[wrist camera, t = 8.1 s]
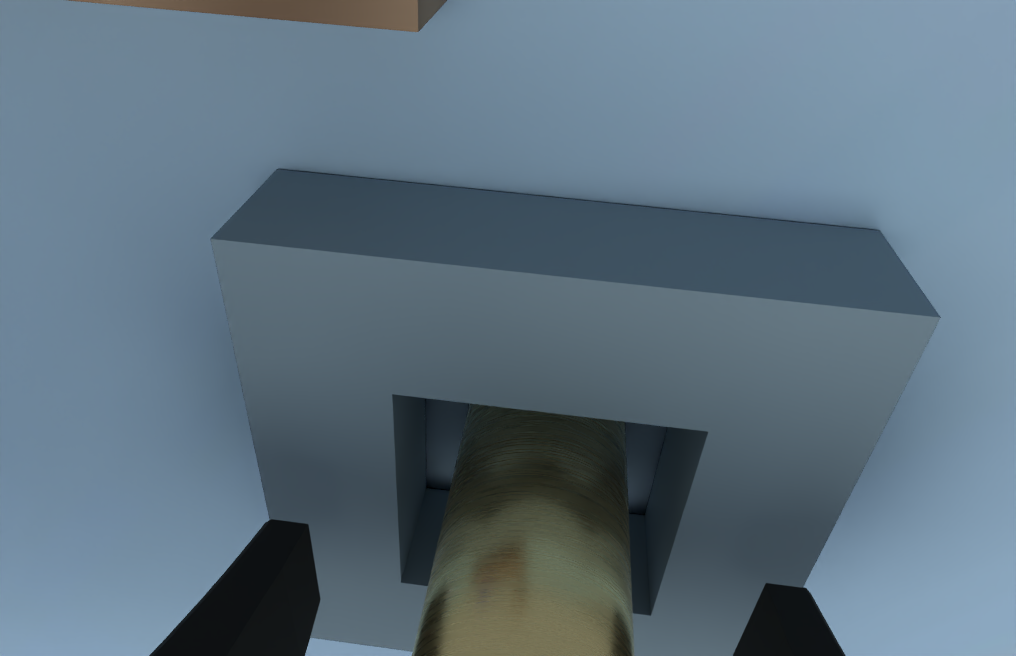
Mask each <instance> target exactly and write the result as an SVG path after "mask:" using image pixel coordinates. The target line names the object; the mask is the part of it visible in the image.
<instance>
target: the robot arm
mask: <svg viewBox="0 0 1016 656" xmlns="http://www.w3.org/2000/svg"><path fill="white" fill-rule="evenodd" d="M320 600H321V599H320V593H319V586H318V580H317V574H316V568H315V562H314V556H313V549H312V543H311V537H310V531H309V525H308V524H305V523H298V522H290V521H282V520H274V519H271V520H269V521H268V522H266V523H265V524H264V525H263V526H262V528H261V529H260V530H259V531H258V533H257V534H256V535H255V536H254V538H253V539H252V540H251V541H250V543H249V544H248V545H247V546H246V547H245V549H244V550H243V551H242V552H241V554H240V555H239V556H238V557H237V558H236V560H235V561H234V562H233V563H232V564H231V565H230V567H229V568H228V569H227V570H226V571H225V573H224V574H223V575H222V576H221V577H220V578H219V580H218V581H217V582H216V583H215V584H214V585H213V586H212V588H211V589H210V590H209V591H208V592H207V593H206V595H205V596H204V597H203V598H202V599H201V600H200V601H199V602H198V604H197V605H196V606H195V607H194V608H193V609H192V610H191V611H190V612H189V613H188V614H187V616H186V617H185V618H184V619H183V620H182V621H181V622H180V623H179V624H178V625H177V627H176V628H175V629H174V630H173V631H172V632H171V633H170V634H169V635H168V636H167V638H166V639H165V640H164V641H163V642H162V643H161V644H160V645H159V646H158V647H157V648H156V649H155V650H154V651H153V652H152V653H151V654H150V655H149V656H305V653H306V650H307V646H308V643H309V640H310V636H311V633H312V629H313V625H314V622H315V618H316V615H317V611H318V607H319V604H320ZM733 656H845V654H844V652H843V651H842V649H841V647H840V645H839V644H838V642H837V640H836V638H835V636H834V635H833V633H832V631H831V629H830V628H829V626H828V624H827V622H826V620H825V619H824V617H823V615H822V613H821V611H820V609H819V608H818V606H817V604H816V602H815V600H814V599H813V597H812V595H811V593H810V592H809V591H808V590H807V589H806V588H802V587H794V586H786V585H778V584H771V583H766V584H765V586H764V588H763V590H762V592H761V594H760V597H759V599H758V601H757V603H756V605H755V608H754V610H753V612H752V614H751V616H750V619H749V621H748V623H747V625H746V627H745V630H744V632H743V634H742V636H741V638H740V640H739V643H738V645H737V647H736V649H735V651H734V654H733Z"/></svg>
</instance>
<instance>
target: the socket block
mask: <svg viewBox="0 0 1016 656" xmlns="http://www.w3.org/2000/svg"><path fill="white" fill-rule="evenodd" d="M69 1H80V2H91V3H102V4H113V5H124V6H135V7H146V8H157V9H168V10H179V11H190V12H201V13H212V14H223V15H234V16H245V17H257V18H268V19H279V20H290V21H301V22H312V23H323V24H334V25H345V26H356V27H367V28H378V29H389V30H400V31H411V32H419V31H420V30H421V29H422V27H423V26H424V25H425V24H426V23H427V22H428V21H429V20H430V19H431V18H432V16H433V15H434V14H435V13H436V12H437V11H438V10H439V9H440V8H441V7H442V5H443V4H444V3H445V2H446V1H447V0H69Z"/></svg>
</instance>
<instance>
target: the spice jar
mask: <svg viewBox="0 0 1016 656" xmlns="http://www.w3.org/2000/svg"><path fill="white" fill-rule="evenodd" d="M412 656H634V633H633V609H632V584H631V559H630V535H629V510H628V486H627V461H626V437H625V422H623V421H614V420H606V419H597V418H589V417H580V416H572V415H563V414H555V413H547V412H538V411H530V410H521V409H513V408H504V407H496V406H487V405H479V404H470V405H469V409H468V413H467V418H466V422H465V427H464V431H463V435H462V440H461V444H460V448H459V453H458V457H457V461H456V466H455V470H454V474H453V479H452V483H451V488H450V492H449V496H448V501H447V505H446V509H445V514H444V518H443V522H442V527H441V531H440V536H439V540H438V544H437V549H436V553H435V557H434V562H433V566H432V570H431V575H430V579H429V583H428V588H427V592H426V597H425V601H424V605H423V610H422V614H421V618H420V623H419V627H418V631H417V636H416V640H415V644H414V649H413V653H412Z"/></svg>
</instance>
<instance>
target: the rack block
mask: <svg viewBox="0 0 1016 656" xmlns="http://www.w3.org/2000/svg"><path fill="white" fill-rule="evenodd" d="M211 243H212V248H213V253H214V257H215V262H216V267H217V272H218V276H219V281H220V286H221V291H222V295H223V300H224V305H225V310H226V315H227V319H228V324H229V329H230V334H231V338H232V343H233V348H234V353H235V357H236V362H237V367H238V372H239V376H240V381H241V386H242V391H243V395H244V400H245V405H246V410H247V414H248V419H249V424H250V429H251V433H252V438H253V443H254V448H255V452H256V457H257V462H258V467H259V471H260V476H261V481H262V486H263V490H264V495H265V500H266V505H267V509H268V514H269V519H270V520H271V519H274V520H282V521H290V522H298V523H305V524H308V525H309V531H310V537H311V543H312V549H313V556H314V562H315V568H316V574H317V580H318V586H319V593H320V599H321V600H320V604H319V607H318V611H317V615H316V618H315V622H314V625H313V629H312V633H311V636H310V638H317V639H325V640H332V641H339V642H346V643H354V644H361V645H368V646H375V647H383V648H390V649H397V650H404V651H412V652H413V649H414V644H415V640H416V636H417V631H418V627H419V623H420V618H421V614H422V610H423V605H424V601H425V597H426V592H427V588H428V583H429V579H430V575H431V570H432V566H433V562H434V557H435V553H436V549H437V544H438V540H439V536H440V531H441V527H442V522H443V518H444V514H445V509H446V505H447V501H448V496H449V492H450V491H445V490H437V489H429V488H426V424H425V398H428V399H437V400H445V401H454V402H462V403H470V404H479V405H487V406H496V407H504V408H513V409H521V410H530V411H538V412H547V413H555V414H563V415H572V416H580V417H589V418H597V419H606V420H614V421H623V422H631V423H640V424H648V425H656V426H665V427H668V429H667V433H666V436H665V440H664V444H663V448H662V452H661V455H660V459H659V463H658V467H657V470H656V474H655V478H654V482H653V486H652V489H651V493H650V497H649V501H648V504H647V508H646V512H645V515H637V514H629V535H630V559H631V584H632V609H633V633H634V656H733V654H734V651H735V649H736V647H737V645H738V643H739V640H740V638H741V636H742V634H743V632H744V630H745V627H746V625H747V623H748V621H749V619H750V616H751V614H752V612H753V610H754V608H755V605H756V603H757V601H758V599H759V597H760V594H761V592H762V590H763V588H764V586H765V584H766V583H771V584H778V585H786V586H794V587H802V588H803V586H804V584H805V582H806V580H807V578H808V576H809V574H810V572H811V570H812V568H813V567H814V565H815V563H816V561H817V559H818V557H819V555H820V553H821V551H822V549H823V547H824V545H825V543H826V541H827V539H828V537H829V535H830V533H831V531H832V529H833V527H834V525H835V523H836V521H837V520H838V518H839V516H840V514H841V512H842V510H843V508H844V506H845V504H846V502H847V500H848V498H849V496H850V494H851V492H852V490H853V488H854V486H855V484H856V482H857V480H858V478H859V476H860V475H861V473H862V471H863V469H864V467H865V465H866V463H867V461H868V459H869V457H870V455H871V453H872V451H873V449H874V447H875V445H876V443H877V441H878V439H879V437H880V435H881V433H882V431H883V429H884V428H885V426H886V424H887V422H888V420H889V418H890V416H891V414H892V412H893V410H894V408H895V406H896V404H897V402H898V400H899V398H900V396H901V394H902V392H903V390H904V388H905V386H906V384H907V383H908V381H909V379H910V377H911V375H912V373H913V371H914V369H915V367H916V365H917V363H918V361H919V359H920V357H921V355H922V353H923V351H924V349H925V347H926V345H927V343H928V341H929V339H930V337H931V336H932V334H933V332H934V330H935V328H936V326H937V324H938V322H939V320H940V318H941V317H940V316H939V315H938V313H937V312H936V310H935V309H934V307H933V306H932V305H931V303H930V302H929V300H928V299H927V297H926V296H925V295H924V293H923V292H922V290H921V289H920V287H919V286H918V285H917V283H916V282H915V280H914V279H913V277H912V276H911V274H910V273H909V272H908V270H907V269H906V267H905V266H904V264H903V263H902V262H901V260H900V259H899V257H898V256H897V254H896V253H895V252H894V250H893V249H892V247H891V246H890V244H889V243H888V242H887V240H886V239H885V237H884V236H883V234H882V233H881V232H880V231H877V230H868V229H858V228H848V227H838V226H828V225H819V224H809V223H799V222H789V221H779V220H770V219H760V218H750V217H740V216H730V215H721V214H711V213H701V212H691V211H681V210H672V209H662V208H652V207H642V206H632V205H623V204H613V203H603V202H593V201H583V200H574V199H564V198H554V197H544V196H534V195H525V194H515V193H505V192H495V191H485V190H476V189H466V188H456V187H446V186H437V185H427V184H417V183H407V182H397V181H388V180H378V179H368V178H358V177H348V176H339V175H329V174H319V173H309V172H299V171H290V170H280V169H277V170H276V171H275V172H274V173H273V174H272V175H271V176H270V177H269V178H268V179H267V180H266V181H265V183H264V184H263V185H262V186H261V187H260V188H259V189H258V190H257V191H256V192H255V193H254V194H253V195H252V196H251V197H250V198H249V199H248V200H247V201H246V202H245V203H244V204H243V205H242V207H241V208H240V209H239V210H238V211H237V212H236V213H235V214H234V215H233V216H232V217H231V218H230V219H229V220H228V221H227V222H226V223H225V224H224V225H223V226H222V227H221V228H220V230H219V231H218V232H217V233H216V234H215V235H214V236H213V237H212V238H211Z"/></svg>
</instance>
